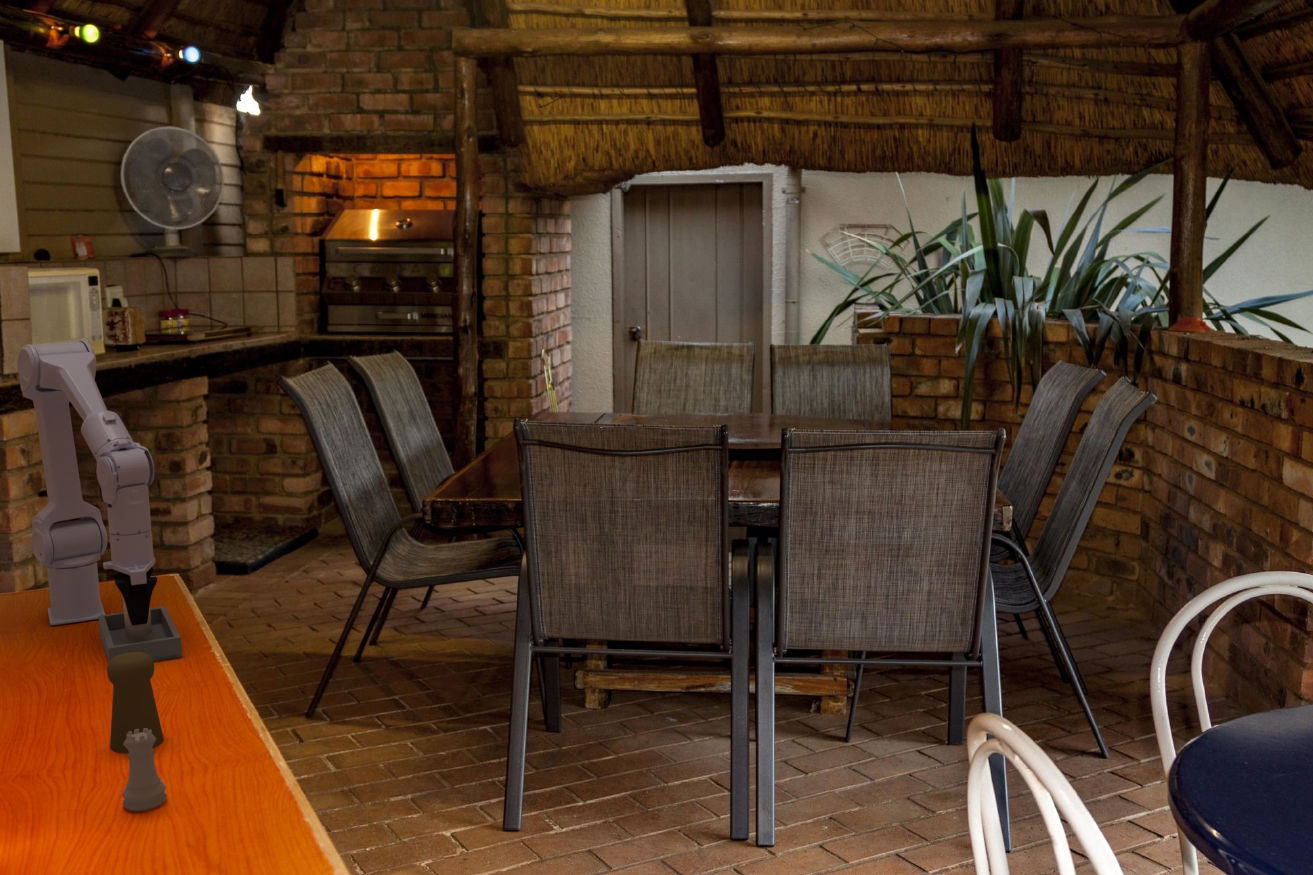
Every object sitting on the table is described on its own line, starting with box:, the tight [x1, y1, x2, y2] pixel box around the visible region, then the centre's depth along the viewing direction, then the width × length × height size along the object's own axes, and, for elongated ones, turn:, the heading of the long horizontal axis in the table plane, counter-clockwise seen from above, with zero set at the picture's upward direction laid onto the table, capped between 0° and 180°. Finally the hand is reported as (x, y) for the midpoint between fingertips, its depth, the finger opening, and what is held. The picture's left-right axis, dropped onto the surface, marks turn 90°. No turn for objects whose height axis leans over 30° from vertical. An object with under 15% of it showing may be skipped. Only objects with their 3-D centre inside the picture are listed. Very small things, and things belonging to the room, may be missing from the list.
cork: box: [106, 652, 165, 755], centre depth 149 cm, size 6×6×11 cm
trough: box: [98, 606, 183, 664], centre depth 186 cm, size 18×10×3 cm, turn 28°
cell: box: [121, 594, 152, 637], centre depth 185 cm, size 4×4×7 cm
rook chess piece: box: [121, 728, 168, 813], centre depth 133 cm, size 4×4×8 cm
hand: (137, 620), depth 185 cm, fingers closed on cell, 3 cm apart
